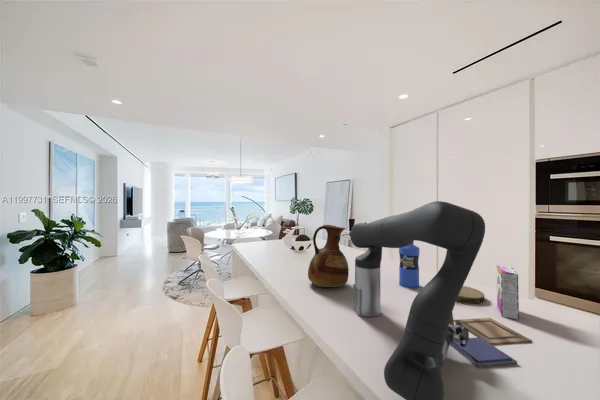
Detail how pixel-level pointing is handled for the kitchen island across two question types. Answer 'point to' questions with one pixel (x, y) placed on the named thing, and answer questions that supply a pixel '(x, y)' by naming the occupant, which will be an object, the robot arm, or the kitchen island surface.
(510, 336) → the marked board
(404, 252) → the water bottle
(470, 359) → the ink pad
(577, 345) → the kitchen island surface
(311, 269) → the ceramic pitcher
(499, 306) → the candy bar box
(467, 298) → the tan flat ringed disc
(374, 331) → the kitchen island surface
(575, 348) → the kitchen island surface
